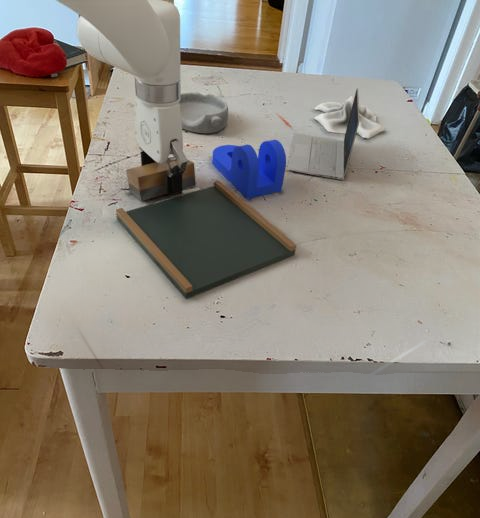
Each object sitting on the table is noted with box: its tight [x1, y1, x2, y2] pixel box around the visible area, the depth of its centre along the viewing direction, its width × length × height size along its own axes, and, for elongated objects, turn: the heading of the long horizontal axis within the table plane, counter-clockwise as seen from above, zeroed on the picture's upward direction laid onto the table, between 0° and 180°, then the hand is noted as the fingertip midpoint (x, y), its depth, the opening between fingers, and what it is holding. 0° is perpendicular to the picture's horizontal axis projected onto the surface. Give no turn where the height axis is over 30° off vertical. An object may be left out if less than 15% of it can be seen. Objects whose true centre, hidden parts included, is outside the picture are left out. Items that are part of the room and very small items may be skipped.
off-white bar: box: [181, 187, 201, 195], centre depth 93 cm, size 4×1×1 cm, turn 119°
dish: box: [179, 91, 229, 134], centre depth 114 cm, size 14×14×5 cm
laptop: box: [286, 87, 360, 181], centre depth 103 cm, size 18×12×13 cm
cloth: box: [313, 95, 386, 140], centre depth 122 cm, size 22×19×6 cm
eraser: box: [125, 158, 197, 201], centre depth 91 cm, size 12×5×4 cm, turn 125°
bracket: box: [211, 139, 287, 200], centre depth 97 cm, size 18×8×9 cm, turn 30°
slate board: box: [115, 179, 297, 300], centre depth 83 cm, size 22×24×2 cm
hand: (161, 180), depth 92 cm, fingers open, 9 cm apart
